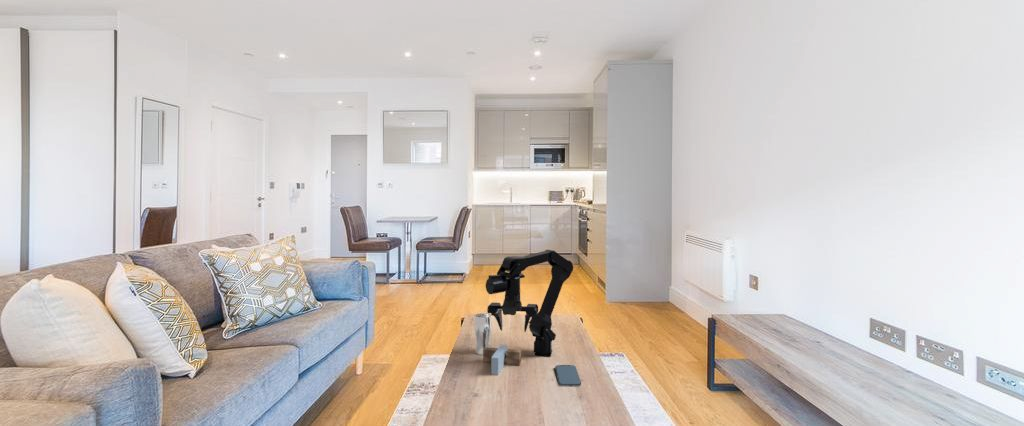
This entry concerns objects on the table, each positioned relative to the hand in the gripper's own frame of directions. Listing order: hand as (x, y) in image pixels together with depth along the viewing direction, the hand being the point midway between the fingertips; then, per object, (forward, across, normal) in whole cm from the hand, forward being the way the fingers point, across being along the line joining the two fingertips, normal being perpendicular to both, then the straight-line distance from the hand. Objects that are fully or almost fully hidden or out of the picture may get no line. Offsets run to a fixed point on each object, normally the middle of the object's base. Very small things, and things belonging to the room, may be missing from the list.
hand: (513, 331), depth 161 cm
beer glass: (+12, -14, +6) cm, 19 cm away
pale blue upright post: (+12, -4, -7) cm, 14 cm away
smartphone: (+13, +21, -10) cm, 26 cm away
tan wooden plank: (+12, -4, -3) cm, 12 cm away
